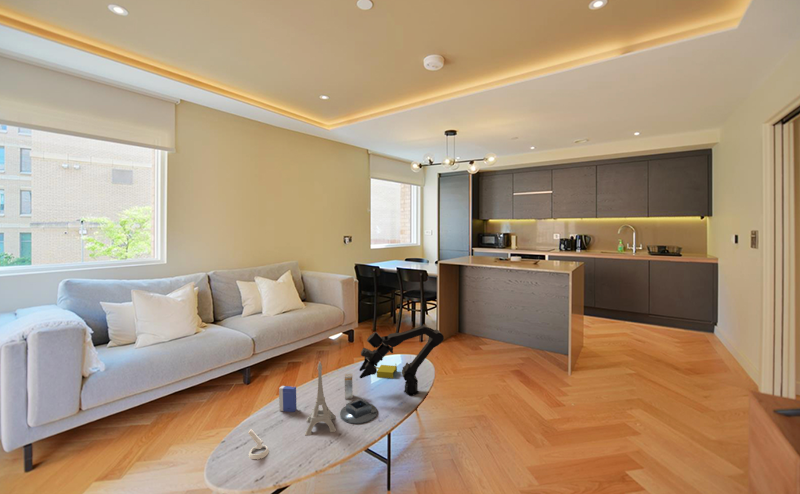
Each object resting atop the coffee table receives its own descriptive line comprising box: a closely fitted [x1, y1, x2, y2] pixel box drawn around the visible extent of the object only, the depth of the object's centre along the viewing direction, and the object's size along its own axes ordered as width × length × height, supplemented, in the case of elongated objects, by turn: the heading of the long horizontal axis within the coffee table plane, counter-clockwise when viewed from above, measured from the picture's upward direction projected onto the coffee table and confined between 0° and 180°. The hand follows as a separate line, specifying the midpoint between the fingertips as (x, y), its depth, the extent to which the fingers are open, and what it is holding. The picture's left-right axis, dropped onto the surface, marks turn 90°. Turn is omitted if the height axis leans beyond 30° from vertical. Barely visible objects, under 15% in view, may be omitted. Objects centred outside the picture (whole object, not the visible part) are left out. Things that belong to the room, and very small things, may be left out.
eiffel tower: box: [304, 361, 337, 436], centre depth 155 cm, size 13×13×30 cm
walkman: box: [278, 385, 297, 413], centre depth 169 cm, size 8×3×12 cm, turn 81°
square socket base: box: [339, 397, 378, 425], centre depth 165 cm, size 18×18×4 cm
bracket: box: [376, 364, 398, 379], centre depth 211 cm, size 16×8×15 cm
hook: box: [248, 428, 270, 460], centre depth 136 cm, size 8×12×7 cm
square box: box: [344, 373, 354, 400], centre depth 182 cm, size 4×4×12 cm
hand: (359, 374), depth 182 cm, fingers open, 9 cm apart
